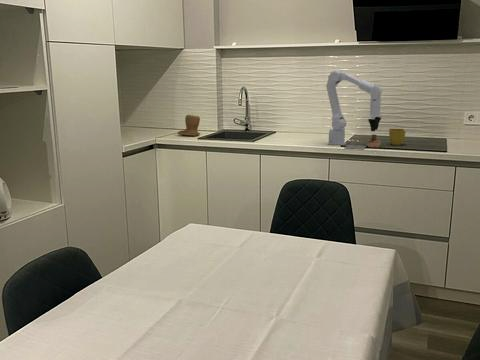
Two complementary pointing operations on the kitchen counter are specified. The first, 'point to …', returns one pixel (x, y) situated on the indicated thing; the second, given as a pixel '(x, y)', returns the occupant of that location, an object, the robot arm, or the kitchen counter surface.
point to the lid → (373, 139)
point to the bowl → (373, 144)
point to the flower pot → (396, 136)
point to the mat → (355, 147)
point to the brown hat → (191, 126)
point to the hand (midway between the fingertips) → (374, 130)
